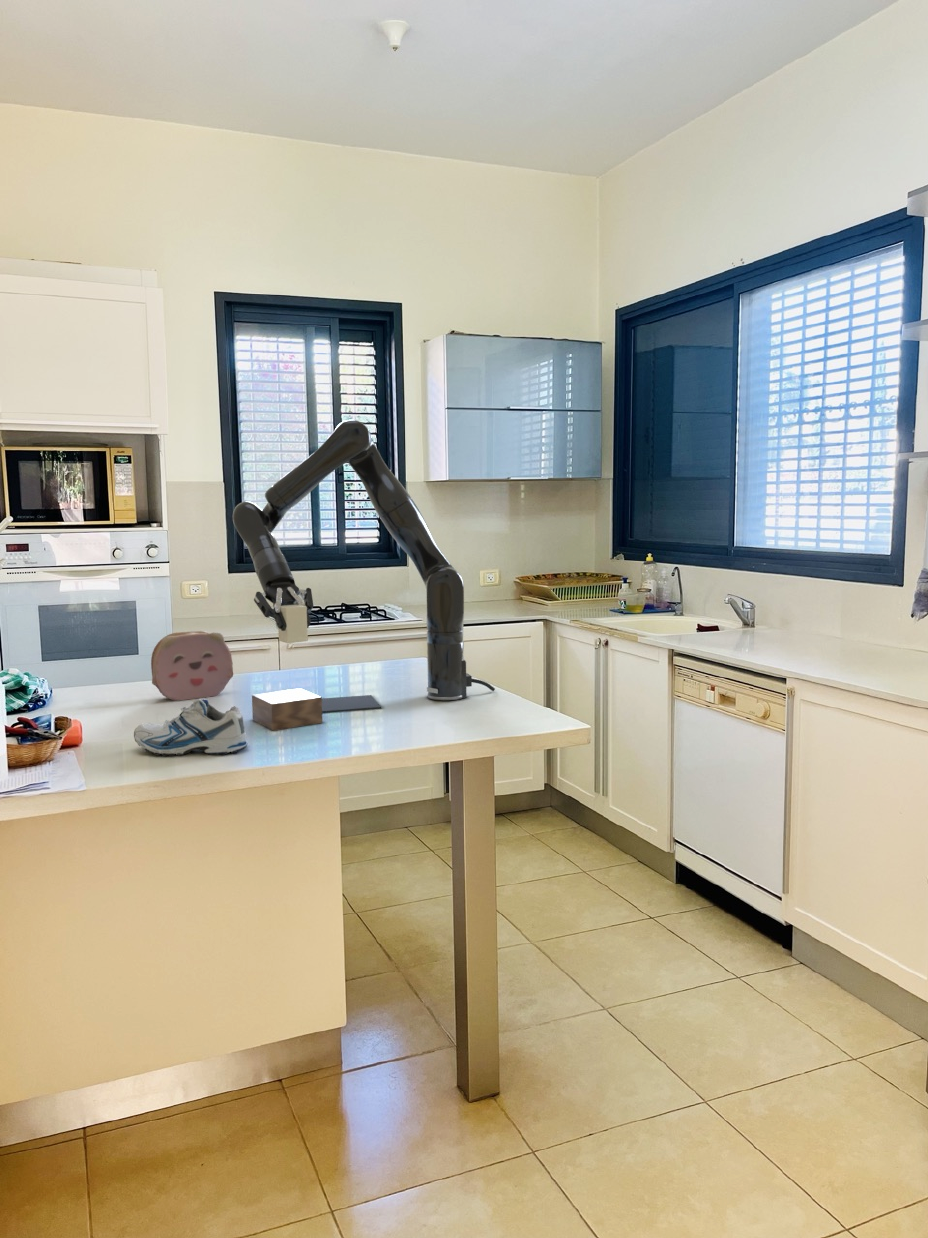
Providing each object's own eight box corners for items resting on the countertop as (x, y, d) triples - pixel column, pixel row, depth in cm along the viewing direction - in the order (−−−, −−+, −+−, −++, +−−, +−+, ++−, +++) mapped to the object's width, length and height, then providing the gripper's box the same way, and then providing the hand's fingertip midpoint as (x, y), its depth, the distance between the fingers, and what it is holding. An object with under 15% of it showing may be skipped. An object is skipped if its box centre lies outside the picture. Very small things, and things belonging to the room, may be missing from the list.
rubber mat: (371, 696, 239) (371, 695, 239) (381, 708, 226) (381, 706, 226) (308, 701, 235) (308, 699, 235) (314, 713, 221) (314, 711, 221)
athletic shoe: (140, 742, 195) (134, 691, 191) (252, 740, 197) (248, 689, 193) (128, 767, 186) (121, 714, 182) (245, 765, 188) (241, 712, 184)
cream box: (298, 638, 217) (297, 604, 216) (307, 641, 213) (306, 606, 212) (278, 640, 214) (277, 606, 213) (287, 643, 210) (285, 608, 209)
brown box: (300, 712, 222) (300, 688, 221) (322, 722, 212) (321, 697, 211) (252, 720, 215) (251, 694, 215) (272, 730, 205) (271, 704, 205)
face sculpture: (156, 703, 234) (152, 638, 231) (150, 698, 239) (146, 634, 237) (235, 694, 244) (232, 631, 241) (227, 689, 250) (224, 628, 247)
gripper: (247, 562, 213) (270, 620, 205) (305, 558, 221) (329, 614, 213) (240, 583, 218) (262, 640, 210) (297, 579, 226) (320, 634, 218)
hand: (296, 627), depth 211 cm, fingers closed on cream box, 5 cm apart
